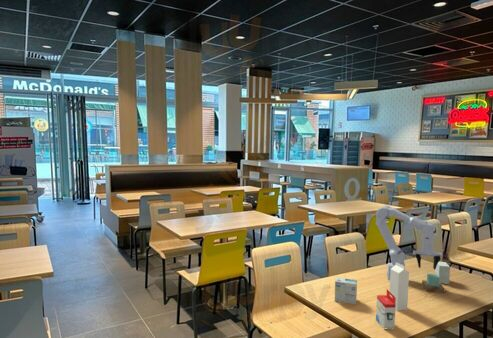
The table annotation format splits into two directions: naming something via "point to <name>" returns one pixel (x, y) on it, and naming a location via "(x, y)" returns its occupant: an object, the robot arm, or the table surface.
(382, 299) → the ink box
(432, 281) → the teal block
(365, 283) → the table surface
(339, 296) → the light bulb box
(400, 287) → the milk
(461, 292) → the table surface
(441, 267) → the small box
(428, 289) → the walnut slab
